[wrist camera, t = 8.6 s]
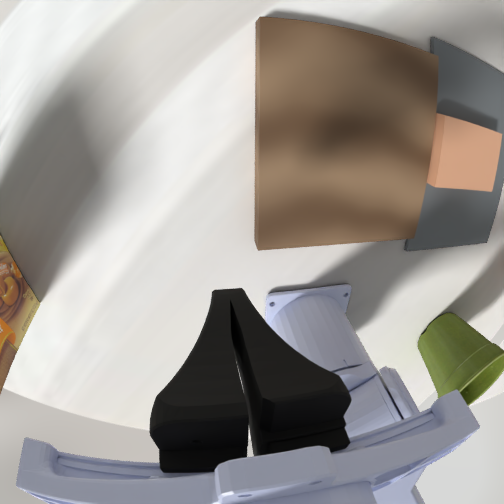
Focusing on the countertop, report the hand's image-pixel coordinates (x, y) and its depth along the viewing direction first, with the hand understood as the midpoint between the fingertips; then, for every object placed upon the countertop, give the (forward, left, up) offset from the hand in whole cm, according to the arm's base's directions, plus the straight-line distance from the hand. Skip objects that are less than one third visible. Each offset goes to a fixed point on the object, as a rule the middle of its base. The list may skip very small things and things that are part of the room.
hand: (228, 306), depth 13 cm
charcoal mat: (+6, -24, -9) cm, 27 cm away
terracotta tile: (+6, -22, -9) cm, 24 cm away
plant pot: (-18, -29, -10) cm, 35 cm away
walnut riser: (+6, -10, -9) cm, 15 cm away
